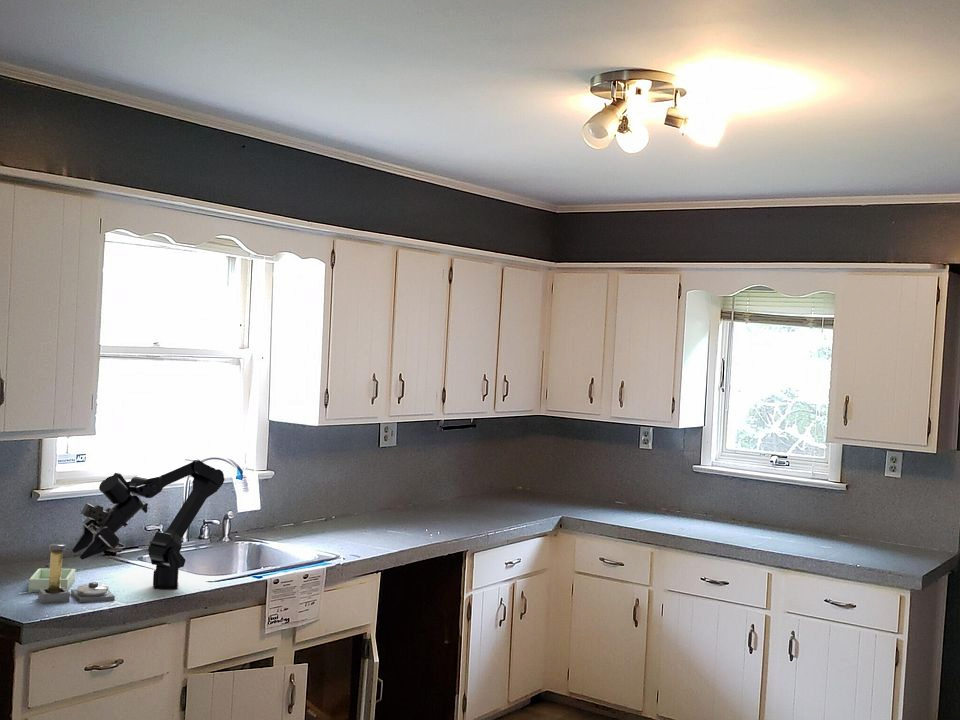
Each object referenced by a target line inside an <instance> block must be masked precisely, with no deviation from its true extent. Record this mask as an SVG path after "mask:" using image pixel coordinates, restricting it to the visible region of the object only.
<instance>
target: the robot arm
mask: <svg viewBox="0 0 960 720" xmlns="http://www.w3.org/2000/svg"><path fill="white" fill-rule="evenodd" d="M188 476H190V477H191V478H192V479H193V480H192V490H191V491H190V493H189V494H188V496H187V498H186V500H185V501H184V503H182V506H181V507H180V508H179V511H178V512H177V514H176V515H175V516H174V518H173V519H172V521H171V523H170V524H169V526H168V528H167V529H166V530H165V531H163V532H162V531H161V532H160V531H157V532H156V533H155V534H154V536H153V538H152V540H151V541H149V546H148V548H147V551H148V556H149V558H150V563H151V565H155V566H156V567H155V569H154V570H153V575H152V586H153V589H154V588H155V589H154V590H156V589H157V590H159V589H161V590H162V589H163V590H165V589H166V590H177V589H178V587H179V570H180V568H183V567H185V563H186V558H185V557H184V556H183V555H182V554H181V553H180V552H181V550H182V546H183V545H182V544H183V537H184V535H185V534H186V533H187V530H188V529H189V528H190V526H191V524H192V523H193V521H194V520H195V518H196V517H197V515H198V513H199V511H200V510H201V508H202V506H203V505H204V503H205V502H206V500H207V499H208V498H210V497H211V496H212V495H214V494H215V493H217V492H218V491H219V489H221V487H222V486H223V484H224V483H225V475H224V471H222V470H221V469H218V468H215V467H212V466H210V465H209V464H205V463H204V462H203V461H201V460H200V459H198V458H197V459H196V458H190V457H189V458H188V457H187V458H186V459H184V460H183V461H180V462H178V463H176V464H173V465H171V466H169V467H167V468H165V469H162V470H160V471H157V472H154V473H153V472H152V473H144V474H139V475H136V476H134V477H132V478H131V479H130V480H128V481H127V480H126V479H125V478H124V476H123V474H121V473H119V472H115V473H113V475H110V476H108V477H106V478H104V480H102V481H101V483H100V484H99V488H98V489H99V491H100V492H101V494H102V495H104V496H105V497H106V499H107V500H108V501H110V503H111V504H112V505H113V506H112V507H107V508H106V509H105V510H104V506H101V505H99V504H95V505H92V504H90V503H88V502H85V504H84V506H83V508H82V509H81V512H80V514H81V515H82V516H85V517H86V519H85V520H83V522H82V523H83V524H82V525H81V527H82V533H81V535H80V537H79V538H78V540H77V541H76V543H75V545H74V546H73V547H72V549H71V552H73V554H76V553H79V552H80V551H82V550H83V551H82V553H81V554H80V555H79V558H80V559H81V560H84V559H85V560H86V559H87V558H90V557H92V556H95V555H97V554H100V553H103V552H105V551H108V550H112V549H115V548H116V547H117V546H119V544H120V538H119V537H118V535H116V533H117V532H119V530H120V529H121V528H123V527H124V528H126V527H127V526H128V522H129V521H130V520H131V519H132V518H133V517H134V516H135V515H136V514H137V513H138V512H139V511H142V512H143V513H145V514H147V513H148V507H149V506H148V505H149V503H148V502H147V501H145V500H142V499H141V498H144V499H145V498H146V499H153V498H154V497H155V496H157V495H158V494H160V493H161V492H162V491H163V489H164V488H166V487H167V486H168V485H171V484H173V483H175V482H178V481H179V480H182V479H184V478H186V477H188ZM140 497H141V498H140Z"/></svg>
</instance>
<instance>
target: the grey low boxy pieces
mask: <svg viewBox="0 0 960 720" xmlns="http://www.w3.org/2000/svg"><path fill="white" fill-rule="evenodd" d="M37 593H38V595H37V596H38V597H37V598H38V600H39V601H40V603H42V604H43V605H47V604H60V603H70V596H72V597H73V598H74V599H75V600H76V601H77V602H78V603H79V604H85V603H97V602H99V603H100V602H109V601H110V602H111V601H115V597H116V596H115V595H114V594H113V593H112V592H111V591H110V590H109V585H108V584H103V583H98V582H94V581H93V582H88V583H86V584H85V583H84V584H80V585H78V586H77V587H76V589H73V588H72V589H71V590H70V591H69V590H67V589H66V588H65V587H61V588H60V593H48V588H46V589H39V592H37Z"/></svg>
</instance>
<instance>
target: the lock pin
mask: <svg viewBox="0 0 960 720" xmlns="http://www.w3.org/2000/svg"><path fill="white" fill-rule="evenodd" d="M65 550H66V544H65V543H52V544H49V545H48V551H50V560H49V569H50V572H49V587H48V593H60V588H61V573H62V569H63V558H64V557H63V556H64V551H65Z"/></svg>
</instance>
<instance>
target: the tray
mask: <svg viewBox="0 0 960 720" xmlns="http://www.w3.org/2000/svg"><path fill="white" fill-rule="evenodd" d="M49 572H50V568H37V570H36V571H35V572H34V573H33V574H32V575H31V577H30V578H29V579H28V590H27V591H28V593H39V589H46V588H48V587H49ZM75 580H76V568H62V573H61V587H65V588H66V589H67V590H68V591H69V590H70V588H71V587H72V586H73V584H74V583H75Z"/></svg>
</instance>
